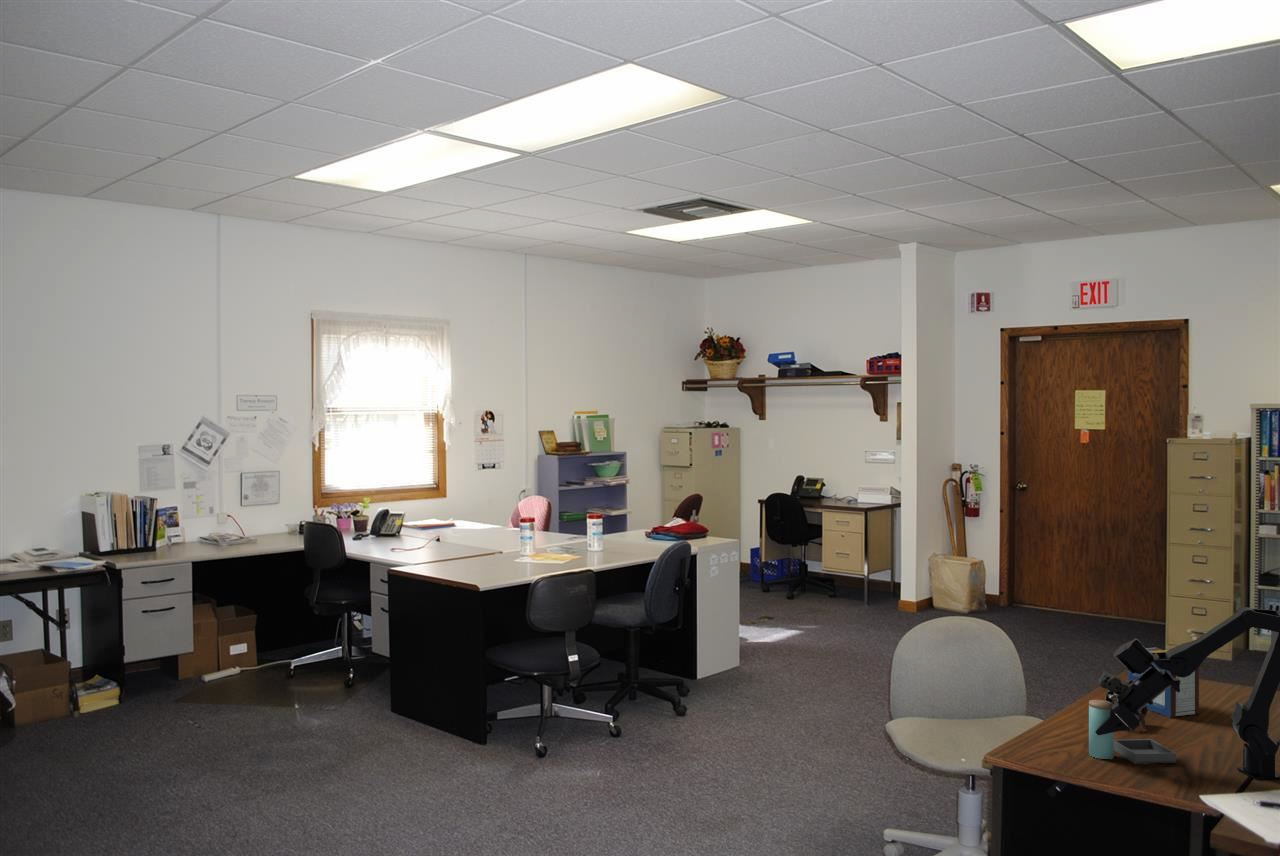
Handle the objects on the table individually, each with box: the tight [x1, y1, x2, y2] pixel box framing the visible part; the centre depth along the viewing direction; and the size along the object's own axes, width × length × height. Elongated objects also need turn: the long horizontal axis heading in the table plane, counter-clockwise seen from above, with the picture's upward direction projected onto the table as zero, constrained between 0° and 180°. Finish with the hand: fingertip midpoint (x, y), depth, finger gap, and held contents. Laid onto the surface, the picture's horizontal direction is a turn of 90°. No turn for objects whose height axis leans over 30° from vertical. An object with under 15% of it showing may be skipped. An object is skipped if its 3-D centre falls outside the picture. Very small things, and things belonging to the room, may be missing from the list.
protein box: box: [1127, 646, 1200, 718], centre depth 274 cm, size 10×15×16 cm
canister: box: [1088, 699, 1115, 760], centre depth 235 cm, size 6×6×13 cm
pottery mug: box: [1136, 706, 1149, 732], centre depth 259 cm, size 12×10×8 cm
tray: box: [1114, 738, 1177, 765], centre depth 235 cm, size 10×10×2 cm
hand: (1095, 728), depth 236 cm, fingers open, 8 cm apart
